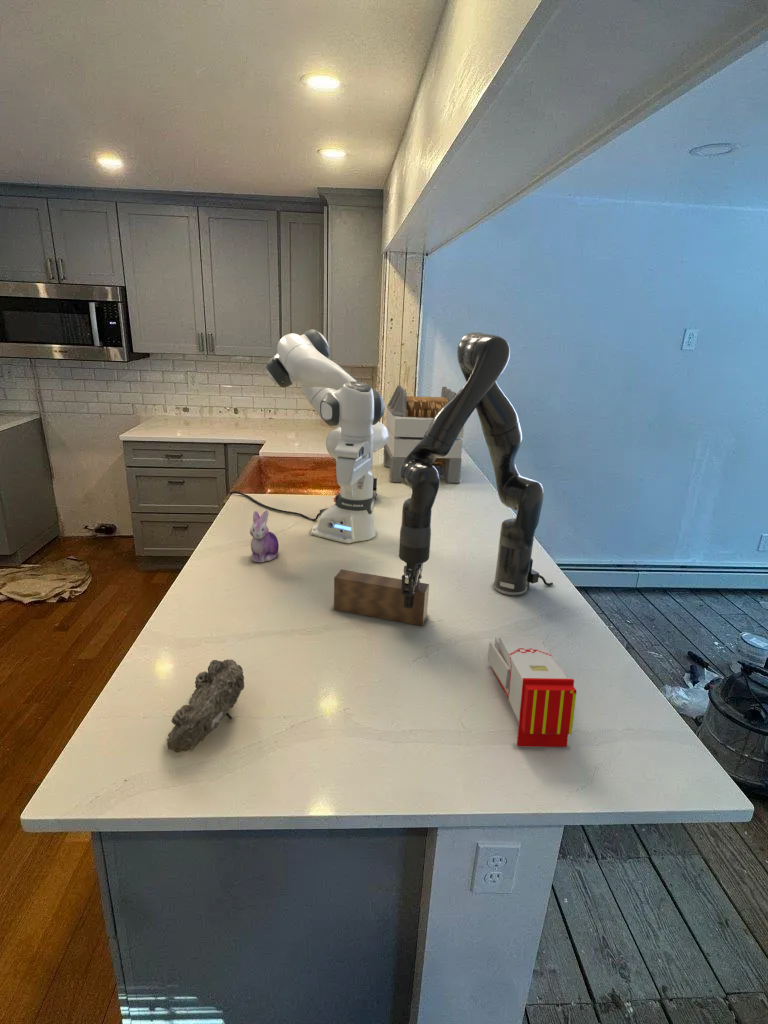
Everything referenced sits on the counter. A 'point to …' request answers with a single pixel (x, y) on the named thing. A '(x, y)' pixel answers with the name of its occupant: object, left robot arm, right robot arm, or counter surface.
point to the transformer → (417, 432)
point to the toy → (534, 690)
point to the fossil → (206, 705)
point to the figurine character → (374, 487)
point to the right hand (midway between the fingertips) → (410, 601)
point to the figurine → (262, 539)
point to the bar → (379, 597)
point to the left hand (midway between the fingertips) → (355, 493)
